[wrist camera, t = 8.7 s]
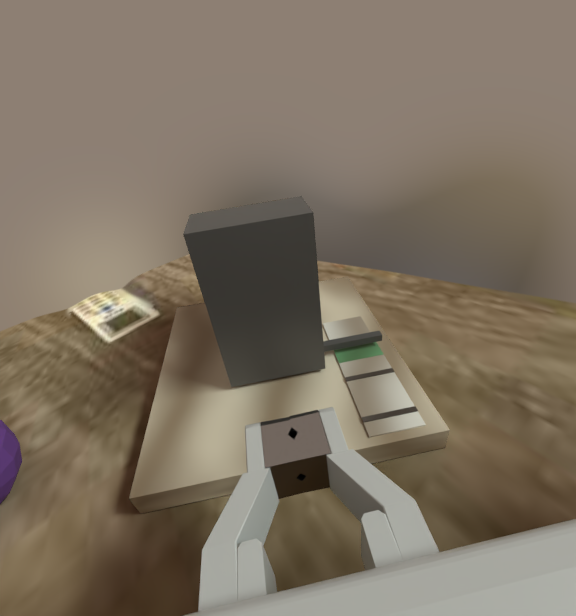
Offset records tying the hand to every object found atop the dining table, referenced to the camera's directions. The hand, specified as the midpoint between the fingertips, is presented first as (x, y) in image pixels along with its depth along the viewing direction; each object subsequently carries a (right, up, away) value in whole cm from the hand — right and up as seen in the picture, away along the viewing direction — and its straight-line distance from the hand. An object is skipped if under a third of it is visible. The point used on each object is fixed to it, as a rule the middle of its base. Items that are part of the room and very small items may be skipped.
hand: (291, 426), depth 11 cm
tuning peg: (+1, +3, +14) cm, 14 cm away
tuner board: (-1, -1, +12) cm, 12 cm away
